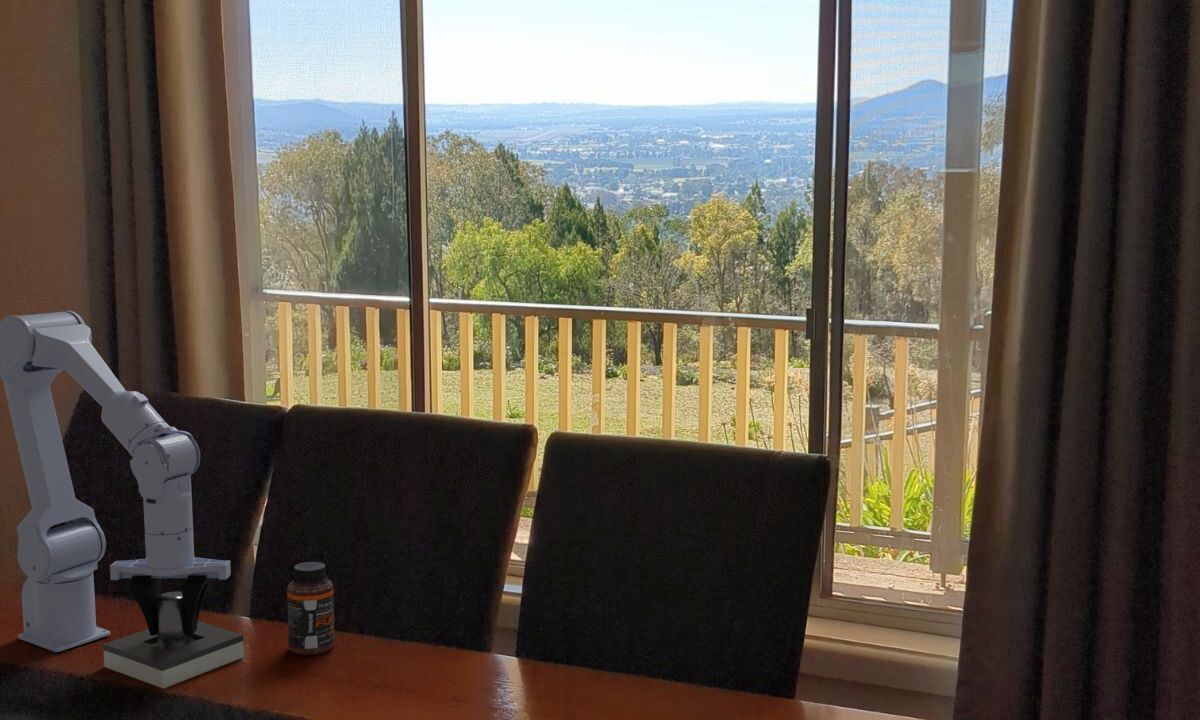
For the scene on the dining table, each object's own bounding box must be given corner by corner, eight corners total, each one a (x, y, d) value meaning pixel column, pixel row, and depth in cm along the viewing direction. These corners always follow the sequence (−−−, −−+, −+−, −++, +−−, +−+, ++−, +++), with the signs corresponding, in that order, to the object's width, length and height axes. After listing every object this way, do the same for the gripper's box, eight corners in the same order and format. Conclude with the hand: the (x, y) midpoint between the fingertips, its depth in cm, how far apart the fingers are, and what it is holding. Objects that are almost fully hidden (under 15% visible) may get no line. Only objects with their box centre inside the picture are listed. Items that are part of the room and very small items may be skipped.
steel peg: (151, 658, 146) (148, 597, 145) (178, 648, 150) (175, 589, 149) (171, 665, 144) (168, 603, 143) (197, 655, 148) (195, 595, 147)
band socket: (104, 666, 145) (103, 644, 145) (185, 638, 155) (184, 616, 155) (163, 688, 139) (162, 664, 138) (243, 657, 149) (243, 634, 148)
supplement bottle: (322, 658, 148) (320, 574, 147) (280, 655, 149) (277, 571, 148) (342, 642, 154) (340, 560, 153) (301, 638, 155) (298, 557, 154)
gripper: (236, 520, 149) (239, 621, 151) (123, 520, 149) (128, 621, 150) (219, 535, 142) (223, 641, 144) (101, 536, 142) (106, 641, 143)
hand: (173, 632), depth 147 cm, fingers closed on steel peg, 4 cm apart
